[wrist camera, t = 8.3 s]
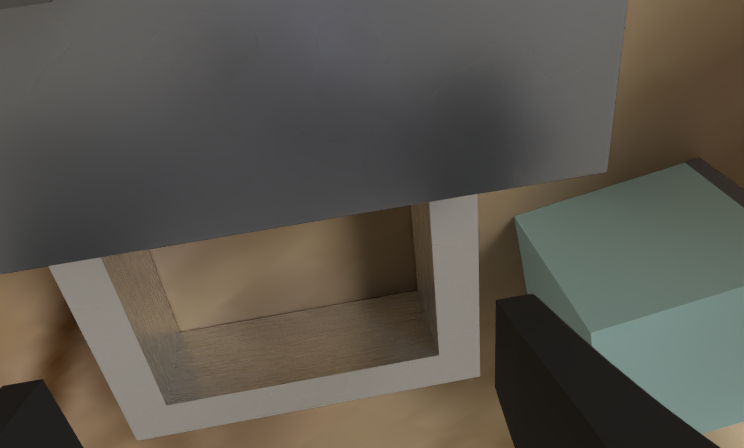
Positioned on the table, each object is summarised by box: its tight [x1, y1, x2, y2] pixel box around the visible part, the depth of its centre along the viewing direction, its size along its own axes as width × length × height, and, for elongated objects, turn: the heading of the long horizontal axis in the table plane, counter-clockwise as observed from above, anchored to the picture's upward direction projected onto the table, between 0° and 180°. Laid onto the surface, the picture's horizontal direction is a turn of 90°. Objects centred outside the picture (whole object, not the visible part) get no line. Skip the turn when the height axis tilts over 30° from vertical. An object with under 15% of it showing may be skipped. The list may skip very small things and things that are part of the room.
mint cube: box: [514, 158, 744, 434], centre depth 15 cm, size 4×4×5 cm
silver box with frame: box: [0, 0, 628, 441], centre depth 9 cm, size 13×16×8 cm
